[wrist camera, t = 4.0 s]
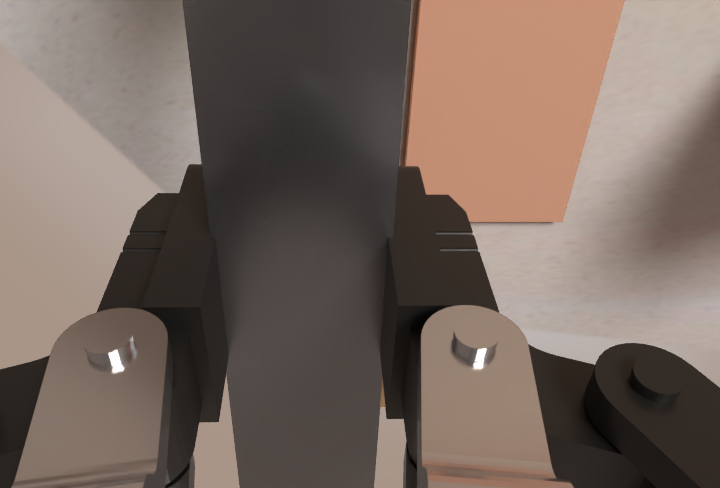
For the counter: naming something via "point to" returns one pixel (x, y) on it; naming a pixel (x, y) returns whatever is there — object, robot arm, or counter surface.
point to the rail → (301, 221)
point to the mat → (506, 101)
